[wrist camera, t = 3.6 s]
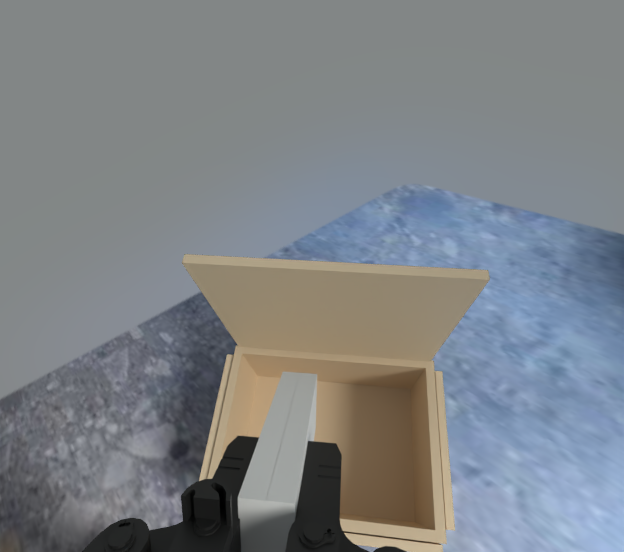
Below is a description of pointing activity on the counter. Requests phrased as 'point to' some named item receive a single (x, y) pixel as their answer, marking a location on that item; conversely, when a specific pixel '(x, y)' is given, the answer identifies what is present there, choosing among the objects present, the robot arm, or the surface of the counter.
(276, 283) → the flap
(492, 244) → the counter surface
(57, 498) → the counter surface
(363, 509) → the wooden box
